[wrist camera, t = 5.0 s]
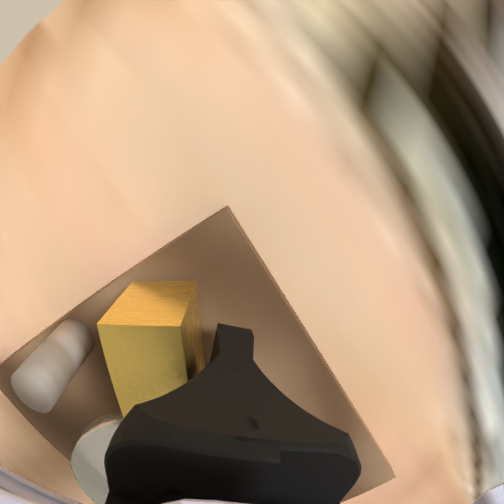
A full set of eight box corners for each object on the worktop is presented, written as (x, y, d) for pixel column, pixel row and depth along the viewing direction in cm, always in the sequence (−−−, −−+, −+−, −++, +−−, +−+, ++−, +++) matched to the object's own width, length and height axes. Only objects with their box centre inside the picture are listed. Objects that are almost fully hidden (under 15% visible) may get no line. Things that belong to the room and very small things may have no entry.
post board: (191, 532, 19) (187, 580, 14) (-3, 366, 14) (-48, 414, 9) (391, 467, 17) (415, 522, 12) (227, 205, 12) (217, 234, 7)
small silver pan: (301, 510, 16) (308, 552, 12) (122, 503, 15) (112, 543, 12) (332, 276, 11) (366, 321, 8) (32, 280, 11) (-20, 316, 8)
